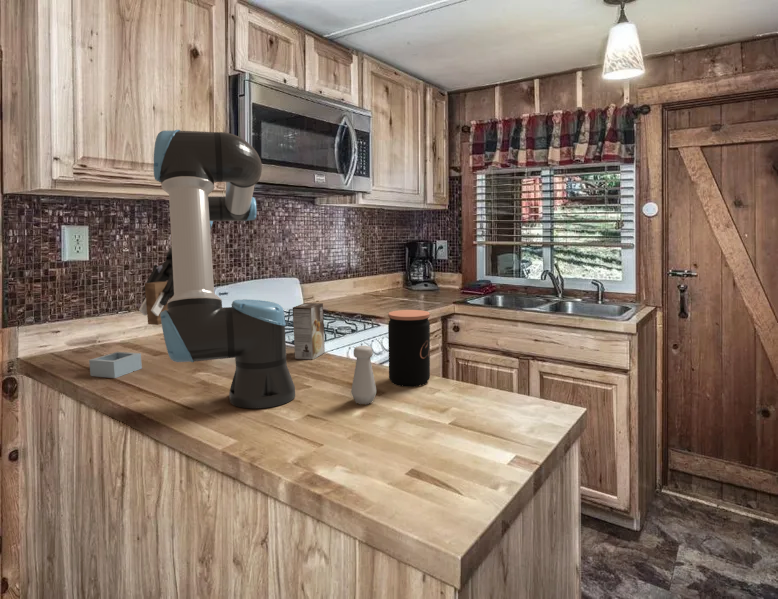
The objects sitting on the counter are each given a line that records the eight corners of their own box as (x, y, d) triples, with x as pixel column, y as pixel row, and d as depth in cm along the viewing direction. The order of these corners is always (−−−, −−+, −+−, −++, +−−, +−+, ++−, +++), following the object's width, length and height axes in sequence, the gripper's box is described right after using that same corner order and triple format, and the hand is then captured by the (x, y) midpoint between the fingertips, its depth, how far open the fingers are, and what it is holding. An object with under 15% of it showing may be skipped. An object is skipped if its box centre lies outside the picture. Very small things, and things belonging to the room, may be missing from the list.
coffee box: (306, 351, 170) (305, 302, 168) (325, 352, 169) (323, 303, 166) (294, 358, 162) (292, 306, 159) (313, 360, 160) (311, 307, 158)
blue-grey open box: (141, 368, 153) (140, 353, 152) (114, 378, 143) (113, 362, 143) (118, 366, 155) (117, 351, 154) (90, 375, 146) (89, 360, 145)
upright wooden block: (169, 321, 157) (166, 281, 155) (157, 324, 152) (154, 283, 151) (160, 321, 158) (157, 281, 157) (148, 324, 154) (144, 283, 152)
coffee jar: (427, 388, 131) (427, 317, 128) (385, 386, 133) (384, 316, 130) (432, 376, 141) (432, 310, 139) (393, 374, 143) (392, 309, 141)
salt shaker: (367, 407, 118) (366, 350, 116) (346, 403, 121) (345, 347, 119) (381, 400, 123) (380, 345, 121) (361, 396, 126) (359, 342, 124)
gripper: (211, 259, 165) (179, 321, 152) (167, 259, 170) (132, 319, 157) (199, 243, 159) (165, 306, 146) (154, 243, 164) (117, 304, 151)
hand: (148, 312), depth 151 cm, fingers closed on upright wooden block, 3 cm apart
